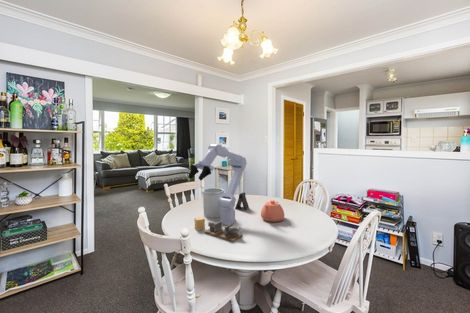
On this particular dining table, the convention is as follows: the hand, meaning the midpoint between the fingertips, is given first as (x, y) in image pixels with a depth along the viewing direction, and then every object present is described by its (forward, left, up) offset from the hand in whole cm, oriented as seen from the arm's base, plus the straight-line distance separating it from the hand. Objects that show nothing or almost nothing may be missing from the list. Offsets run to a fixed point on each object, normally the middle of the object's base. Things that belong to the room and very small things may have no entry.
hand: (194, 178), depth 122 cm
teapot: (-50, +21, -33) cm, 63 cm away
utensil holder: (-35, -17, -32) cm, 51 cm away
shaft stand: (-12, +10, -32) cm, 36 cm away
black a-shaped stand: (-58, -8, -33) cm, 67 cm away
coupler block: (-11, -7, -32) cm, 35 cm away
